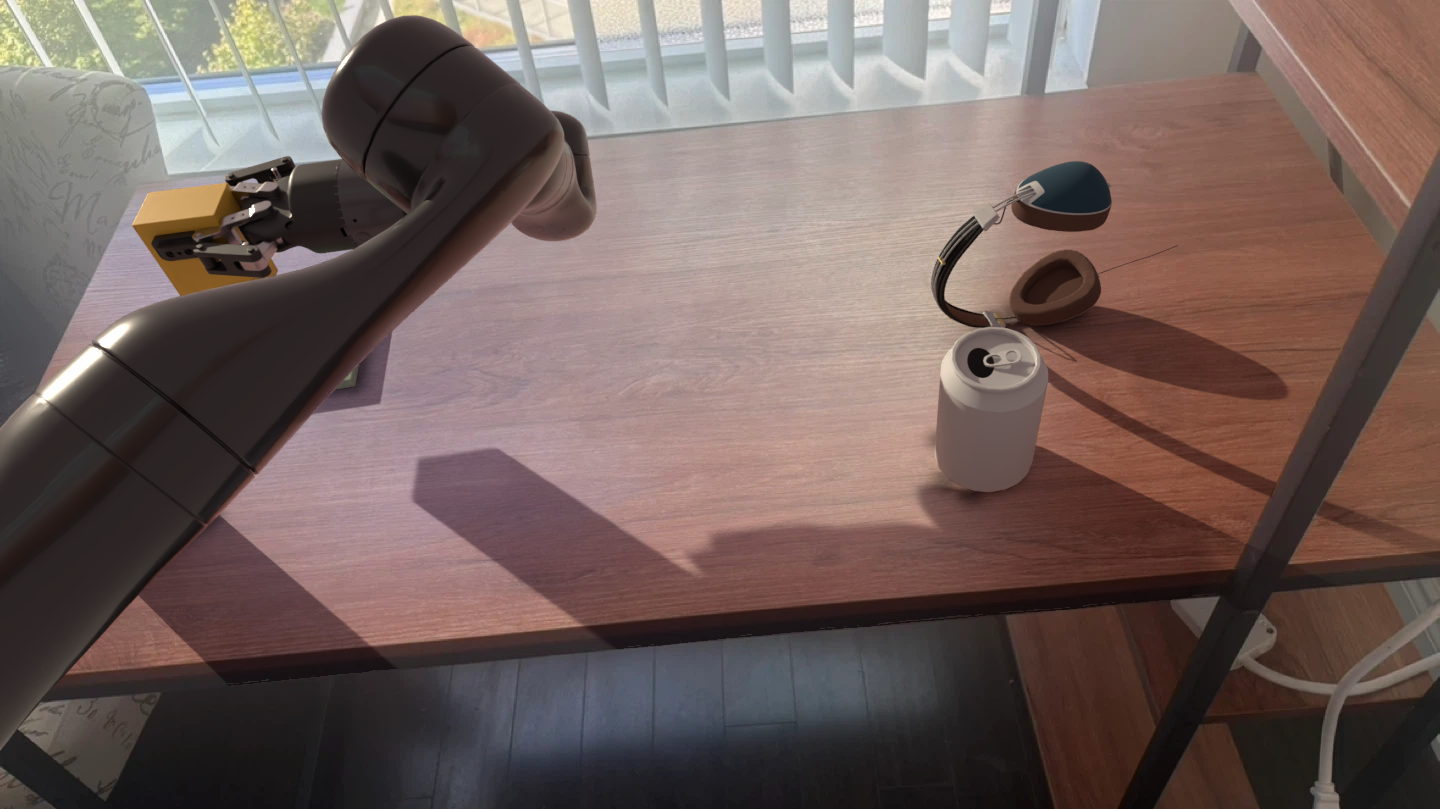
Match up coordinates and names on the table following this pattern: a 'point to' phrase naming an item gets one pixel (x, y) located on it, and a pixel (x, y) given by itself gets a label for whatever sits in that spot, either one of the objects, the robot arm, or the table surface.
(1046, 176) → the headphones
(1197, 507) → the table surface
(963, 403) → the can
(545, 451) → the table surface
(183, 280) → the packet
